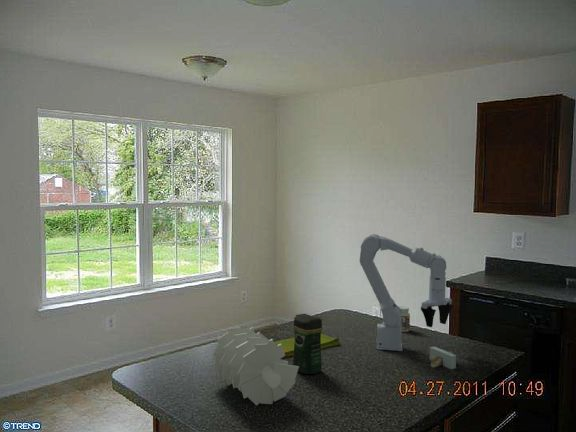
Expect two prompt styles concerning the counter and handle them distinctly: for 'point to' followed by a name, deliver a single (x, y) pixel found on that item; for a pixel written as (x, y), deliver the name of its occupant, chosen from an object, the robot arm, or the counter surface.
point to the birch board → (437, 360)
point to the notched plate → (444, 357)
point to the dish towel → (289, 343)
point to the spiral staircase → (254, 365)
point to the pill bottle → (405, 319)
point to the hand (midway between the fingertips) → (436, 325)
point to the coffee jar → (307, 343)
